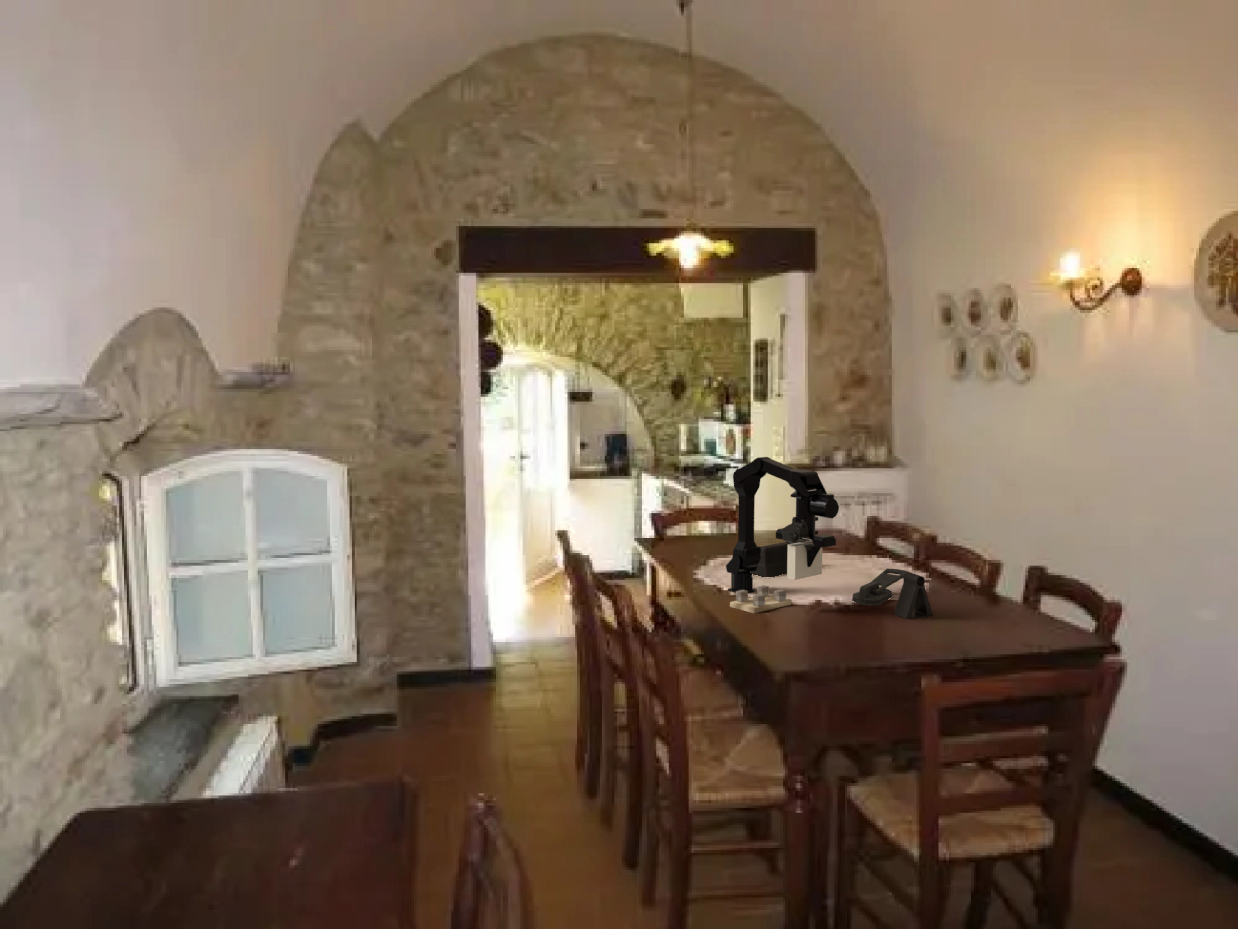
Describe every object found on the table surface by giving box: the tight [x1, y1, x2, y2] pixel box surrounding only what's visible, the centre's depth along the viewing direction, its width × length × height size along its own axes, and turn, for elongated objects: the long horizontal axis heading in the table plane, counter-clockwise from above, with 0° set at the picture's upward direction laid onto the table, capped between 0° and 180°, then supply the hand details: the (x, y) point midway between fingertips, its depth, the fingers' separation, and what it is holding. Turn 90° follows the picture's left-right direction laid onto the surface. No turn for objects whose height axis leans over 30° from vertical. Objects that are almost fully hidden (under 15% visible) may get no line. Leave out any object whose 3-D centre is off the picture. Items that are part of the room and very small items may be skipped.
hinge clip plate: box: [729, 584, 792, 614], centre depth 293 cm, size 10×16×4 cm, turn 128°
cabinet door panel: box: [786, 541, 823, 581], centre depth 289 cm, size 3×12×10 cm, turn 129°
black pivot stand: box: [893, 571, 934, 620], centre depth 280 cm, size 9×6×12 cm, turn 109°
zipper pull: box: [851, 567, 910, 607], centre depth 302 cm, size 9×7×25 cm
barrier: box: [752, 541, 788, 578], centre depth 339 cm, size 24×9×10 cm, turn 128°
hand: (804, 565), depth 289 cm, fingers closed on cabinet door panel, 3 cm apart
